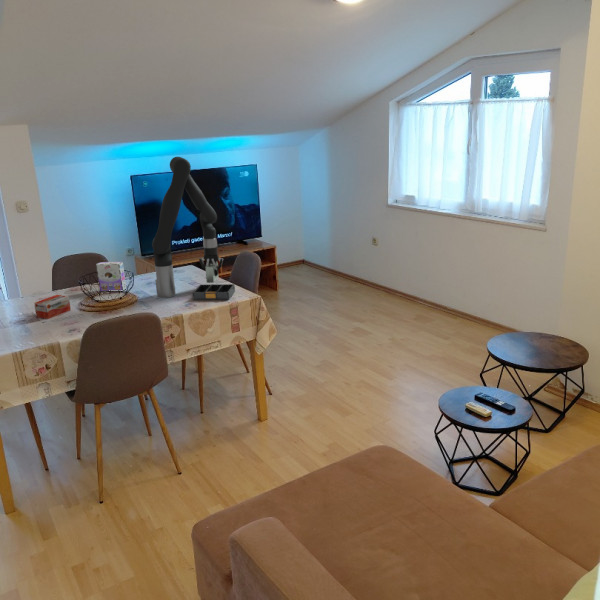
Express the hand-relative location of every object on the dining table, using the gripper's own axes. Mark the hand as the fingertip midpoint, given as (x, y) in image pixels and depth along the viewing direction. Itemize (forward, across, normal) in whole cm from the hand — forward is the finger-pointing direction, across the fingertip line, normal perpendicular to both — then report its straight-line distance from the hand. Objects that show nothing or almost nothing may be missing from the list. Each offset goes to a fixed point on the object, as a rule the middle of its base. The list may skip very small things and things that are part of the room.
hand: (212, 275), depth 326 cm
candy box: (+8, -57, -3) cm, 58 cm away
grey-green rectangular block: (+2, 0, 0) cm, 2 cm away
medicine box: (+9, -72, -43) cm, 85 cm away
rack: (+7, +4, -16) cm, 18 cm away
